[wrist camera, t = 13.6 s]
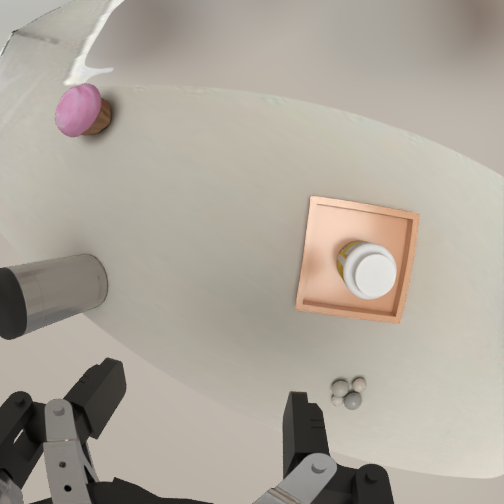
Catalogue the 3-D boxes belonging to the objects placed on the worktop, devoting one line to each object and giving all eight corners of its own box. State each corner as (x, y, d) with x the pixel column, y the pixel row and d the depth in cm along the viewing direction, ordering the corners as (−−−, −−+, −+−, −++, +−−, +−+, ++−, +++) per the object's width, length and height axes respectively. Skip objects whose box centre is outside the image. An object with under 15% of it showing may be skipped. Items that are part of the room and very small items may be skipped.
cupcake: (117, 88, 39) (81, 67, 29) (126, 125, 39) (86, 107, 29) (82, 116, 41) (44, 101, 31) (89, 153, 41) (47, 143, 31)
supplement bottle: (367, 291, 34) (387, 315, 24) (329, 273, 34) (335, 292, 25) (386, 250, 33) (413, 260, 23) (347, 232, 34) (361, 234, 24)
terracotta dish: (295, 303, 36) (294, 309, 34) (310, 197, 35) (311, 195, 32) (394, 317, 34) (399, 323, 31) (412, 214, 32) (419, 213, 30)
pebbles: (326, 400, 37) (326, 410, 34) (334, 373, 36) (335, 382, 34) (357, 403, 36) (359, 413, 33) (367, 376, 35) (370, 385, 33)
